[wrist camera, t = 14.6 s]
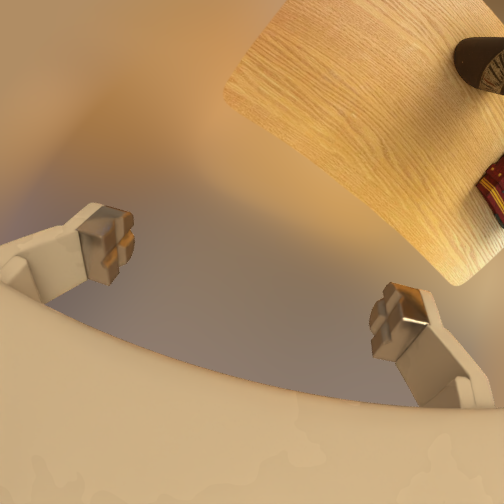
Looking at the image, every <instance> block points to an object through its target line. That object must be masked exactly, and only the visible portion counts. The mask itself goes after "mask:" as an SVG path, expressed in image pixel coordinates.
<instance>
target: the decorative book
mask: <svg viewBox="0 0 504 504" xmlns="http://www.w3.org/2000/svg"><path fill="white" fill-rule="evenodd" d="M486 173H487V174H486V175H485V176H484V177H483V179H482V180H481V181H480V182H479V183H478V184H477V185H476V186H477V188H478V189H479V191H480V192H481V194H482V195H483V197H484V198H485V200H486V201H487V203H488V204H489V206H490V207H491V209H492V210H493V212H494V215H495V217H496V219H497V220H498V222H499V224H500V225H501V227H502V228H503V229H504V156H503V157H502V158H501V159H500V160H499V161H498V162H497V163H496V165H495V164H494V163H493V164H492V165H491V166H490V167H489V168H488V170H487V171H486Z"/></svg>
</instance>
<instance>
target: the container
mask: <svg viewBox="0 0 504 504" xmlns="http://www.w3.org/2000/svg"><path fill="white" fill-rule="evenodd" d="M454 62H455V66H456V69H457V71H458V73H459V75H460V76H461V77H462V78H463V80H464V81H465V82H466V83H468V84H469V85H471V86H472V87H474V88H477V89H480V90H484V91H488V92H492V93H496V94H500V95H504V37H473V38H467V39H464V40H462V41H461V42H460V43H459V44H458V45H457V47H456V50H455V54H454Z"/></svg>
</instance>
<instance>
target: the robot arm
mask: <svg viewBox="0 0 504 504" xmlns="http://www.w3.org/2000/svg"><path fill="white" fill-rule="evenodd" d="M133 225H134V220H133V215H132V214H131V213H130V212H127V211H123V210H120V209H116V208H113V207H109V206H105V205H101V204H98V203H89V204H88V205H87V206H86V207H84V208H83V209H82V210H81V211H80V212H78V213H77V214H76V215H75V216H74V217H72V218H71V219H70V220H69V221H68V222H67V223H66V224H64V225H63V226H60V225H58V226H55V227H52V228H49V229H46V230H43V231H40V232H37V233H34V234H31V235H28V236H25V237H23V238H20V239H17V240H14V241H11V242H9V243H6V244H3V245H1V246H0V504H504V408H495V404H494V400H493V395H492V392H491V388H490V384H489V380H488V378H487V376H486V375H485V374H484V372H483V371H482V370H481V369H480V367H479V366H478V365H477V364H476V363H475V361H474V360H473V359H472V358H471V356H470V355H469V354H468V353H467V352H466V351H465V349H464V348H463V347H462V346H461V345H460V343H459V342H458V341H457V340H456V339H455V338H454V337H453V335H452V334H451V333H450V332H449V331H448V330H447V329H444V328H443V324H442V321H441V318H440V315H439V312H438V309H437V306H436V304H435V301H434V298H433V295H432V294H431V293H430V292H429V291H425V290H421V289H415V288H411V287H407V286H403V285H400V284H396V283H392V282H390V283H389V284H388V285H386V287H385V289H384V290H383V295H384V298H382V299H380V300H378V301H377V302H376V303H375V305H374V307H373V309H372V312H371V315H370V321H369V325H370V330H371V332H372V333H373V334H374V337H373V339H372V340H371V345H372V355H373V358H377V359H382V360H387V361H392V362H396V363H395V364H396V366H397V368H398V369H399V371H400V373H401V375H402V376H403V378H404V380H405V382H406V383H407V385H408V387H409V389H410V391H411V392H412V394H413V396H414V398H415V400H416V402H417V403H418V405H419V407H408V406H397V405H386V404H376V403H368V402H360V401H353V400H346V399H339V398H332V397H326V396H320V395H315V394H309V393H304V392H299V391H293V390H289V389H284V388H279V387H275V386H270V385H266V384H262V383H258V382H253V381H249V380H245V379H242V378H238V377H234V376H230V375H227V374H223V373H219V372H216V371H212V370H209V369H206V368H202V367H199V366H196V365H192V364H189V363H186V362H183V361H180V360H177V359H174V358H171V357H168V356H165V355H162V354H159V353H156V352H154V351H151V350H148V349H145V348H143V347H140V346H137V345H134V344H132V343H129V342H127V341H124V340H122V339H119V338H117V337H114V336H112V335H109V334H107V333H104V332H102V331H100V330H97V329H95V328H93V327H91V326H88V325H86V324H84V323H81V322H79V321H77V320H75V319H73V318H71V317H68V316H66V315H64V314H62V313H60V312H58V311H56V310H54V309H52V308H50V307H48V306H46V305H44V304H46V303H48V302H49V301H51V300H53V299H54V298H56V297H58V296H60V295H61V294H63V293H65V292H67V291H68V290H70V289H72V288H74V287H76V286H78V285H79V284H81V283H83V282H85V281H87V279H90V280H93V281H96V282H99V283H102V284H105V285H108V286H110V284H111V283H112V282H113V280H114V279H115V278H116V277H117V275H118V274H119V267H120V266H122V265H125V264H127V262H128V261H129V259H130V258H131V256H132V253H133V250H134V243H135V240H134V235H133V234H132V232H131V230H130V229H131V227H132V226H133Z"/></svg>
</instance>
